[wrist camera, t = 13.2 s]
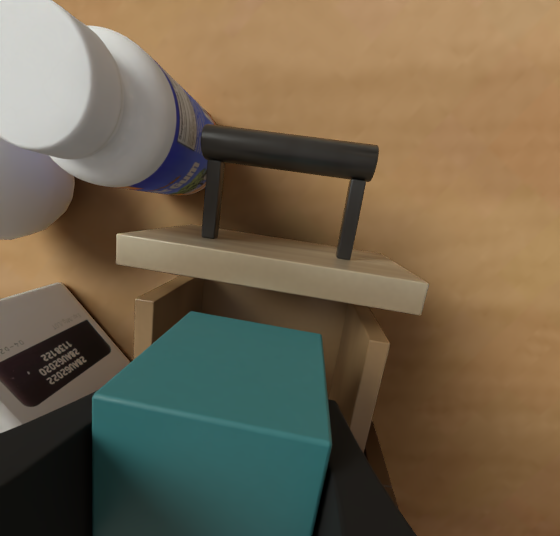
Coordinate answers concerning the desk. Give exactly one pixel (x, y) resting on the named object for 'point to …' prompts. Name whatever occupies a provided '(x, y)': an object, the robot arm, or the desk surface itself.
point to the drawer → (281, 268)
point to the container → (50, 354)
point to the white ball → (30, 191)
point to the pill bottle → (96, 103)
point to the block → (213, 434)
